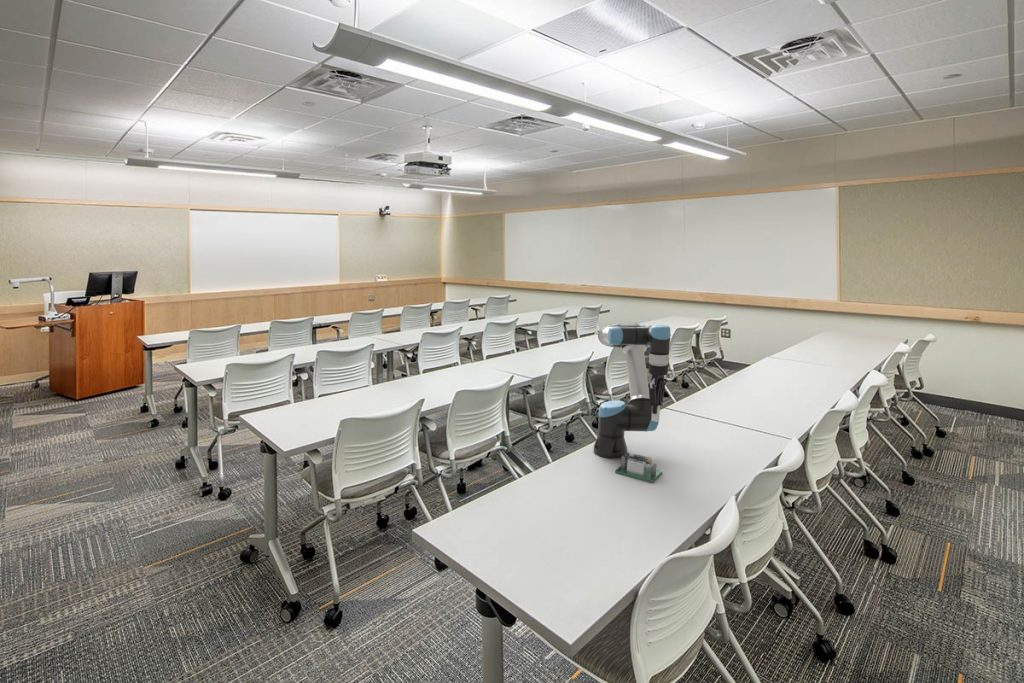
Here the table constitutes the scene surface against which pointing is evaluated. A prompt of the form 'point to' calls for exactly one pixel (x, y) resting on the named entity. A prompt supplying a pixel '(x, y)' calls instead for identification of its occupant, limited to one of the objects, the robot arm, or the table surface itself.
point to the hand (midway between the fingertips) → (655, 420)
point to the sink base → (638, 469)
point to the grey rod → (640, 459)
